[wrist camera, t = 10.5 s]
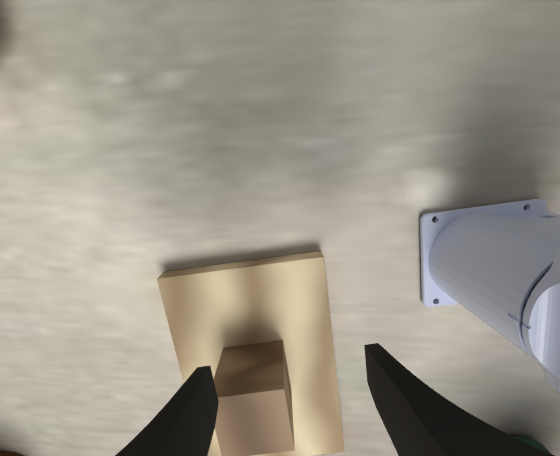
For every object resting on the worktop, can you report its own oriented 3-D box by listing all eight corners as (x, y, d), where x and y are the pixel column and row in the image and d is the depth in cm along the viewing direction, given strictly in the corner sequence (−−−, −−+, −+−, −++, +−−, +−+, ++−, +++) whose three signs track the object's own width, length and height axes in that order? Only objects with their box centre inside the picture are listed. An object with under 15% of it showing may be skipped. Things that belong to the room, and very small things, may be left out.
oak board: (320, 250, 22) (323, 257, 20) (340, 435, 26) (344, 451, 24) (165, 271, 22) (157, 278, 21) (209, 450, 26) (205, 467, 25)
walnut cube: (283, 339, 22) (284, 389, 17) (291, 390, 23) (294, 450, 18) (223, 347, 22) (207, 399, 17) (234, 397, 23) (222, 459, 18)
